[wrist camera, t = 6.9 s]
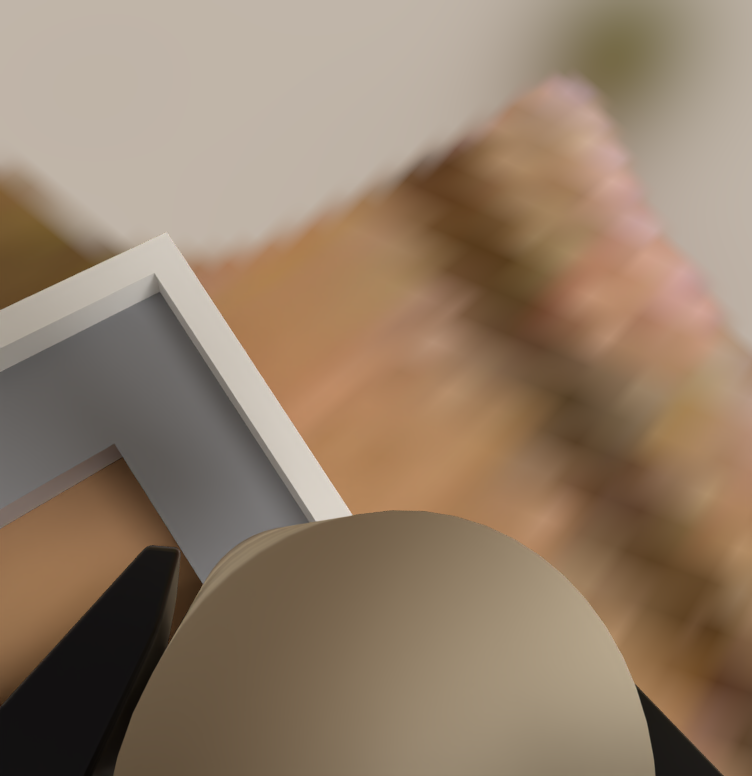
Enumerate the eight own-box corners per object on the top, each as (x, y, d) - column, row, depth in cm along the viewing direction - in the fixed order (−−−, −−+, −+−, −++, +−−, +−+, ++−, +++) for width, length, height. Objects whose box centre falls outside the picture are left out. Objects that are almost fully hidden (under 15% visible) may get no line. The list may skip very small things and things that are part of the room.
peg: (414, 594, 15) (731, 696, 5) (310, 768, 14) (495, 1303, 4) (270, 490, 15) (340, 409, 5) (148, 654, 13) (-51, 947, 4)
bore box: (419, 652, 21) (459, 678, 18) (-43, 1038, 16) (-125, 1190, 13) (177, 282, 22) (167, 231, 19) (-327, 536, 17) (-482, 536, 14)
